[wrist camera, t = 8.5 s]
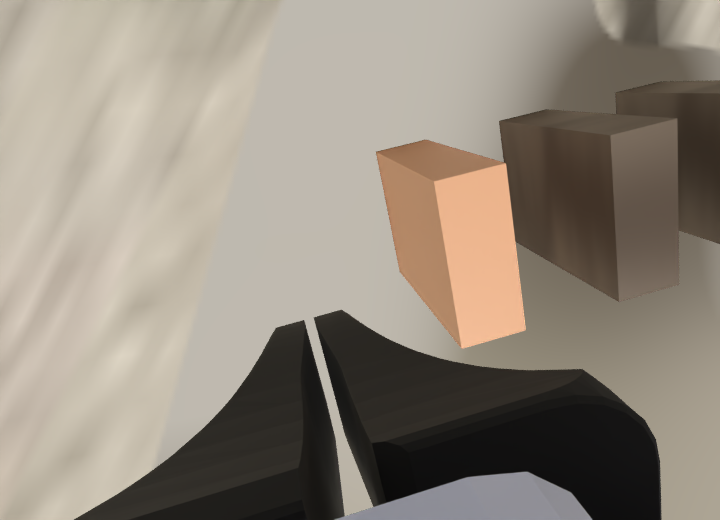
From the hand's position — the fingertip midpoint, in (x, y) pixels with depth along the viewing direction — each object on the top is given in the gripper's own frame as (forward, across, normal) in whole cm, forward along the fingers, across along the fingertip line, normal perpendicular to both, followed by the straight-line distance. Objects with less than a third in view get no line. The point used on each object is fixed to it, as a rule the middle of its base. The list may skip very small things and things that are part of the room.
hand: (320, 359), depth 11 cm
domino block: (+10, -10, 0) cm, 14 cm away
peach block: (+10, -5, 0) cm, 11 cm away
